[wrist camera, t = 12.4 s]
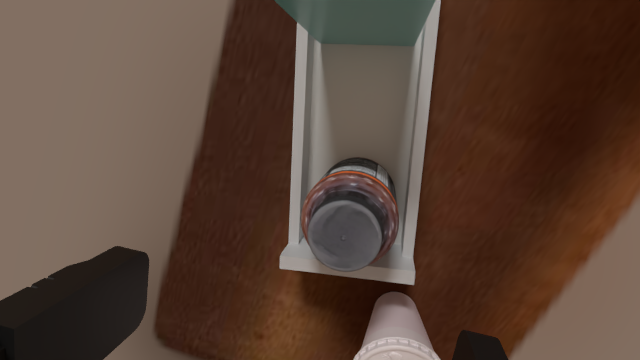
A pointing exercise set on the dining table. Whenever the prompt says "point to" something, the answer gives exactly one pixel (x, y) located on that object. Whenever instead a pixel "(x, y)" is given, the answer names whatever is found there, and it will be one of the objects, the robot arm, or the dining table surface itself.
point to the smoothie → (396, 331)
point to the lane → (361, 133)
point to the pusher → (361, 20)
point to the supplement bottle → (351, 215)
